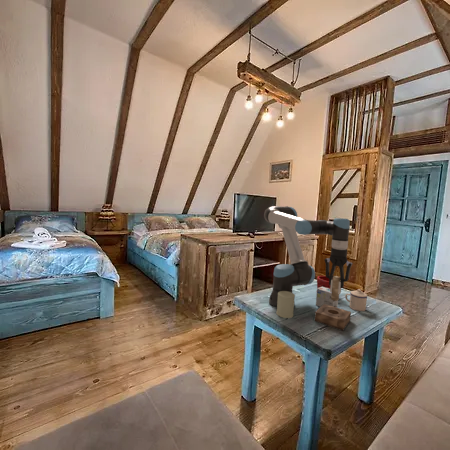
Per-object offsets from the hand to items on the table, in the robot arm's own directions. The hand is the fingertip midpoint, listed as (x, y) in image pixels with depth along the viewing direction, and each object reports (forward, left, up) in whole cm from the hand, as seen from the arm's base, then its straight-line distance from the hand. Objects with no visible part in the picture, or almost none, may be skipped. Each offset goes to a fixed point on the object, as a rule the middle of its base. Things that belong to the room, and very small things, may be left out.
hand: (335, 292), depth 128 cm
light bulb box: (-8, +16, -16) cm, 24 cm away
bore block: (0, 0, -16) cm, 16 cm away
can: (-22, -11, -16) cm, 29 cm away
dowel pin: (0, 0, -4) cm, 4 cm away
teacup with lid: (+5, +28, -16) cm, 33 cm away
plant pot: (-14, +35, -16) cm, 41 cm away
